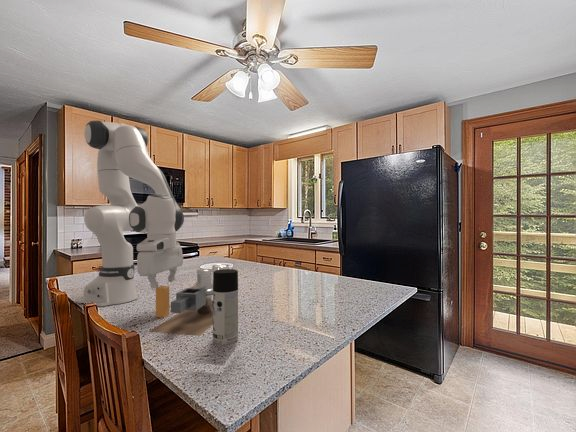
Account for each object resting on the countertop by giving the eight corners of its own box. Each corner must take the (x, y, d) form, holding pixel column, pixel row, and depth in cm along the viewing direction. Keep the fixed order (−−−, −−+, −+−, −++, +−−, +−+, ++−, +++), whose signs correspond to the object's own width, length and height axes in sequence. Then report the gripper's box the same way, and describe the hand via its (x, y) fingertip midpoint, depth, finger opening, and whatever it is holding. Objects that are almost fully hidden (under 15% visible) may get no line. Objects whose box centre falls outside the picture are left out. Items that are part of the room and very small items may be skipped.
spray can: (215, 339, 83) (214, 268, 83) (239, 338, 84) (239, 268, 84) (211, 350, 77) (210, 273, 77) (237, 349, 77) (237, 273, 77)
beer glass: (225, 307, 113) (225, 267, 112) (208, 305, 114) (208, 266, 114) (232, 301, 119) (232, 264, 119) (216, 300, 121) (216, 263, 121)
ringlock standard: (158, 330, 86) (158, 281, 86) (197, 305, 109) (197, 266, 109) (193, 333, 84) (193, 282, 84) (225, 307, 107) (225, 267, 107)
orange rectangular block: (156, 321, 98) (155, 288, 98) (161, 318, 101) (161, 285, 101) (164, 321, 97) (163, 288, 97) (169, 318, 100) (169, 286, 100)
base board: (148, 336, 86) (148, 331, 86) (193, 308, 111) (193, 304, 111) (200, 340, 83) (200, 335, 83) (233, 310, 108) (233, 306, 108)
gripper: (171, 240, 109) (172, 277, 110) (132, 246, 89) (134, 292, 89) (187, 240, 108) (188, 277, 108) (151, 246, 88) (152, 292, 88)
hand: (163, 284), depth 99 cm, fingers open, 8 cm apart
